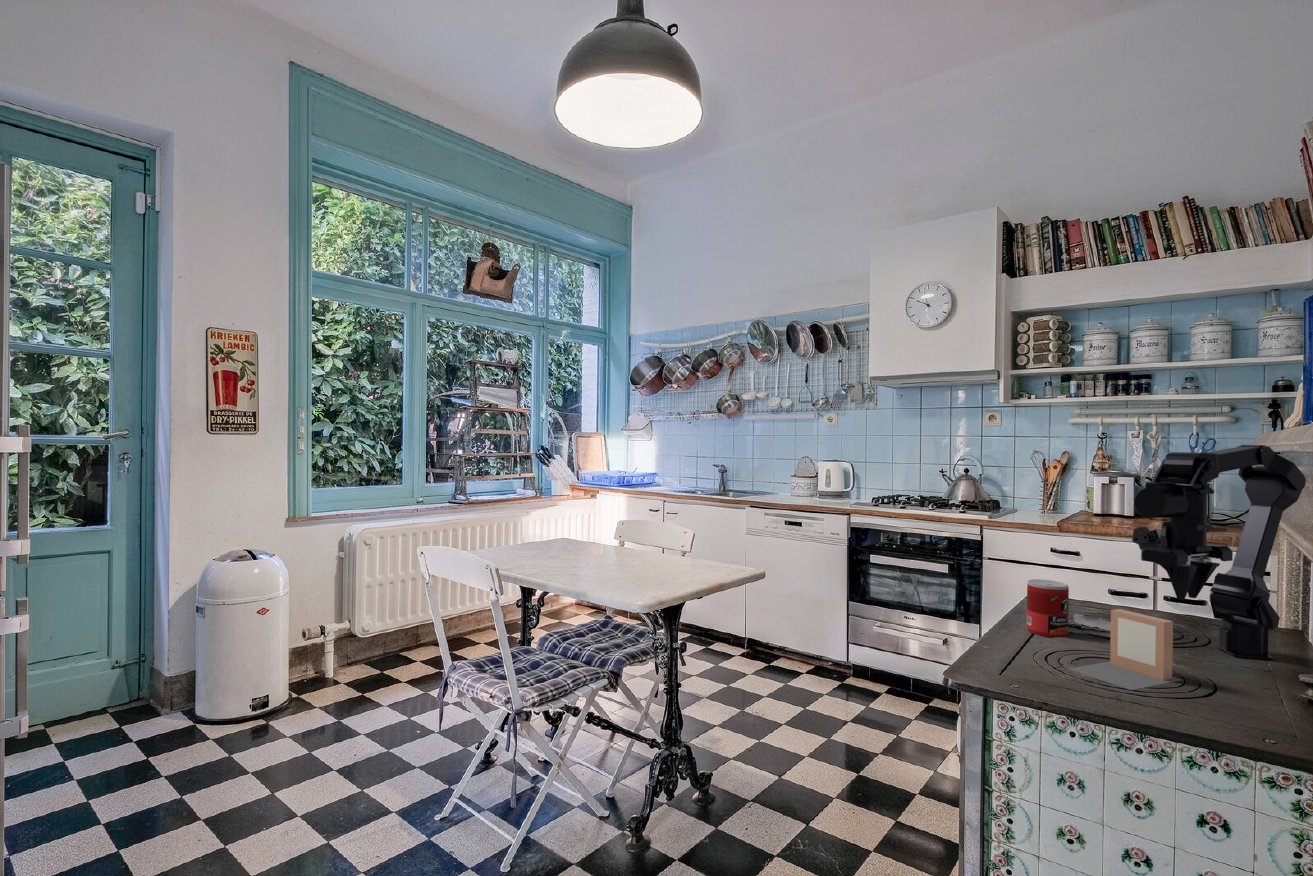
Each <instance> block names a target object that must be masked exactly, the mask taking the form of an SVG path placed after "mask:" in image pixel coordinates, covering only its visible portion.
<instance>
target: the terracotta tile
mask: <svg viewBox="0 0 1313 876" xmlns="http://www.w3.org/2000/svg"><path fill="white" fill-rule="evenodd" d="M1110 622H1111V637H1110V640H1109V641H1110V642H1109V643H1110V646H1109V647H1110V650H1109V651H1110V652H1109V653H1110V655H1109V661H1110V664H1112V665H1115V666H1118V667H1122V668H1125V669H1128V670H1131V671H1135V672H1138V673H1141V674H1144V675H1147V676H1151V677H1154V678H1157V679H1160V680H1168V679H1172V677H1173V645H1174V644H1173V640H1174V639H1173V638H1174V636H1173V635H1174V633H1173V632H1174V620H1169V619H1165V618H1161V617H1160V618H1159V617H1155V616H1152V615H1147V614H1144V613H1139V612H1134V611H1131V610H1125V609H1121V608H1118V609H1117V608H1116V609H1110Z"/></svg>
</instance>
